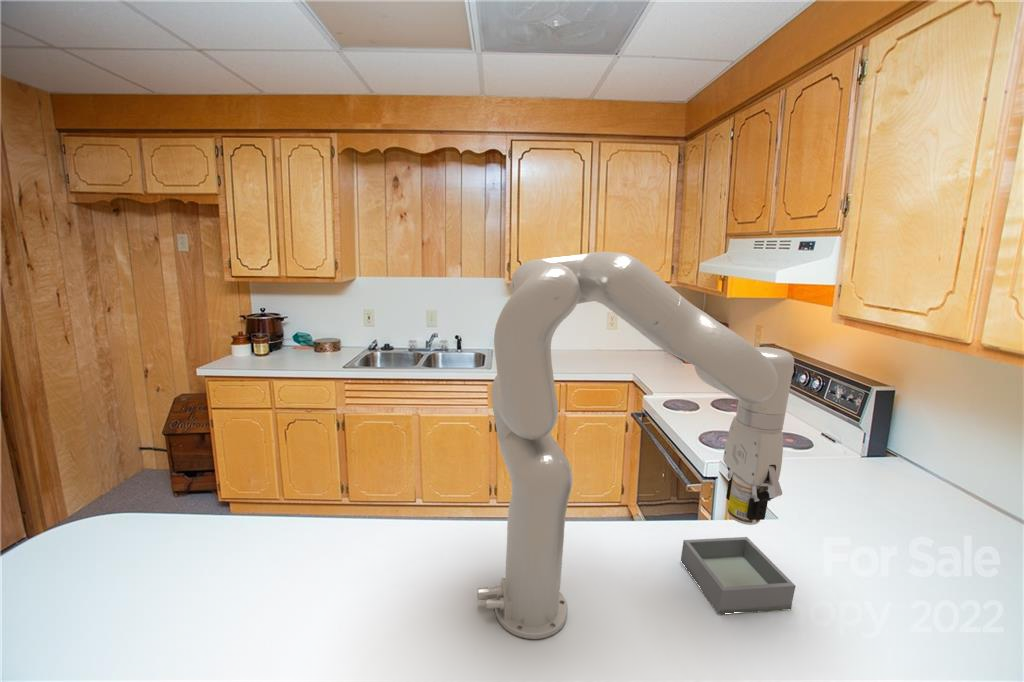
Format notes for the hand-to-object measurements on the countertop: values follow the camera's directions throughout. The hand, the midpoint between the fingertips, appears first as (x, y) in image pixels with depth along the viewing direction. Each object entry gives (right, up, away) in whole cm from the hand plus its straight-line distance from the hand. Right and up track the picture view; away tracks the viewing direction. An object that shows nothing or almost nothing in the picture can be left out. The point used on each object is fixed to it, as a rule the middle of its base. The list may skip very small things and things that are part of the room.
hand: (744, 507), depth 87 cm
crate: (-1, -16, +3) cm, 16 cm away
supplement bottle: (0, -2, 0) cm, 2 cm away
